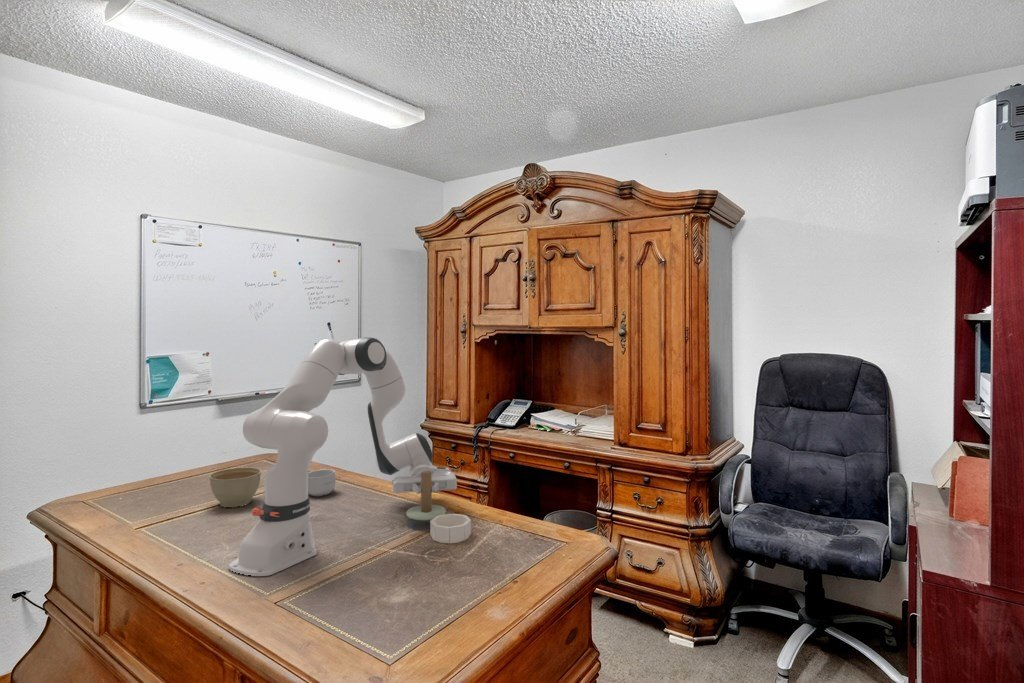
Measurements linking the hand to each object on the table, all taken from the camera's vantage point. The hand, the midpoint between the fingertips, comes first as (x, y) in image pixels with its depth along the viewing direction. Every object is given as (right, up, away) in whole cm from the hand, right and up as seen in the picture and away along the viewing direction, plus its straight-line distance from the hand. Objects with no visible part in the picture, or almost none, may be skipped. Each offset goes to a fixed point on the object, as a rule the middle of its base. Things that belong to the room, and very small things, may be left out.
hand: (426, 490), depth 167 cm
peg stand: (0, -7, +1) cm, 7 cm away
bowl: (+8, -11, -9) cm, 17 cm away
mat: (0, -11, +2) cm, 11 cm away
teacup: (-44, -11, +35) cm, 57 cm away
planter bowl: (-70, -11, +22) cm, 74 cm away
